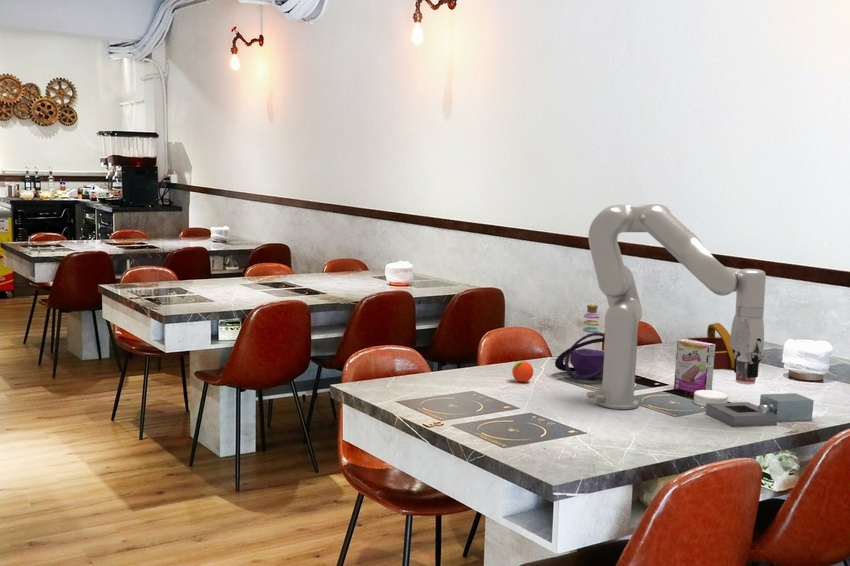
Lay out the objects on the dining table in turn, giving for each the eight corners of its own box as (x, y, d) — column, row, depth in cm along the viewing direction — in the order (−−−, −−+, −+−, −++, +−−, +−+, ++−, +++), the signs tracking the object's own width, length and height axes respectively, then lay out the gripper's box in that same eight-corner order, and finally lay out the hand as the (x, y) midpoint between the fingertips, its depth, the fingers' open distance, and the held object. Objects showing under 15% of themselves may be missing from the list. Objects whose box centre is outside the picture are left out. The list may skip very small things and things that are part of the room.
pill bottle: (732, 380, 258) (734, 347, 256) (750, 380, 258) (752, 347, 257) (740, 385, 252) (742, 351, 251) (758, 384, 253) (760, 351, 252)
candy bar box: (673, 389, 290) (676, 340, 288) (680, 387, 294) (683, 338, 292) (705, 396, 283) (709, 345, 281) (712, 393, 286) (716, 343, 284)
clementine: (520, 385, 288) (521, 364, 287) (505, 381, 293) (506, 360, 292) (537, 382, 293) (538, 361, 292) (521, 378, 298) (522, 357, 297)
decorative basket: (676, 356, 358) (673, 319, 356) (751, 349, 353) (748, 312, 352) (689, 376, 325) (686, 335, 323) (772, 369, 320) (769, 328, 318)
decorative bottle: (601, 369, 317) (605, 299, 314) (633, 382, 298) (638, 309, 294) (545, 371, 310) (548, 300, 307) (573, 385, 290) (578, 310, 287)
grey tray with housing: (733, 426, 248) (735, 406, 247) (705, 413, 262) (707, 393, 261) (818, 423, 255) (820, 402, 255) (787, 410, 269) (789, 390, 268)
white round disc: (686, 401, 276) (687, 390, 275) (712, 399, 280) (713, 388, 279) (708, 409, 267) (709, 398, 266) (734, 407, 271) (735, 396, 270)
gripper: (720, 308, 260) (717, 369, 262) (756, 317, 244) (752, 382, 246) (742, 307, 262) (739, 368, 264) (780, 316, 245) (775, 381, 248)
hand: (745, 374), depth 255 cm, fingers closed on pill bottle, 5 cm apart
